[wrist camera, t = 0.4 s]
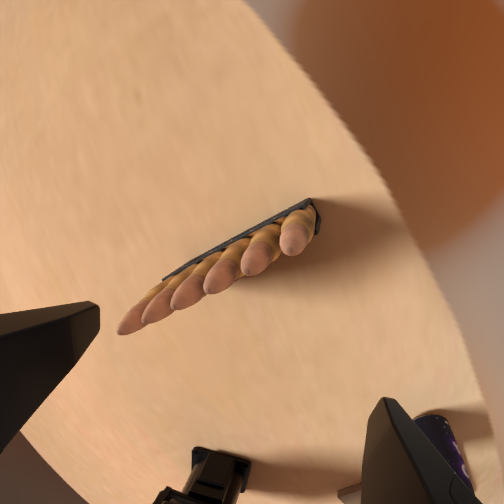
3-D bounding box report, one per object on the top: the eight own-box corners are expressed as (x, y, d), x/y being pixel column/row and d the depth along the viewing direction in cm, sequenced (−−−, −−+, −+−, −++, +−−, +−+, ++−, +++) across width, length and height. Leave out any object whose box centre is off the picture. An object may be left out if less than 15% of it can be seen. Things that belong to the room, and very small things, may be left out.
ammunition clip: (198, 282, 26) (115, 355, 14) (187, 262, 26) (95, 322, 14) (322, 220, 23) (325, 261, 11) (309, 197, 23) (300, 214, 11)
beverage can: (414, 455, 26) (431, 545, 14) (381, 436, 26) (393, 536, 14) (456, 422, 24) (490, 511, 12) (426, 399, 24) (459, 499, 13)
